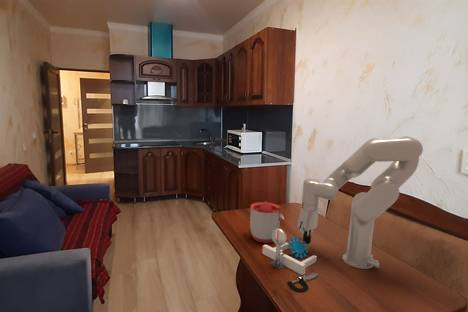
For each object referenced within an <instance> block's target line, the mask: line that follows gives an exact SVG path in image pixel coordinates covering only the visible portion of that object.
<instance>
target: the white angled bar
mask: <svg viewBox="0 0 468 312" xmlns="http://www.w3.org/2000/svg"><path fill="white" fill-rule="evenodd" d="M289 246H290V244H289V242H287V241H286V243H285V244H284V245H282V246H281V250H282V249H285V251H286V250H288V249H289ZM262 254H263V255H264V256H266V257H268V258H269V259H271V260H272V261H274V260H275V255H276V246H274V247H272V246H270V245H268V244H264V245H262ZM280 263H282V264H283V265H284V267H286V268H287V269H290V270H291V271H293V272H294V273H295V272H296V273H297V274H299V275H300V276H304V275H306V269H307V268H308V267H309V266H311V265H313V264H314V263H317V256H316V255H312V256H309V257H307V258H305V259H303V260H302V261H299V260H298V259H297V258H295V257H292V256H289V255H287V253H283V252H281V253H280Z"/></svg>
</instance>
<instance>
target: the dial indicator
mask: <svg viewBox="0 0 468 312" xmlns="http://www.w3.org/2000/svg"><path fill="white" fill-rule="evenodd" d="M272 240H273V243H274V244H275V247H276V255H275V260H272V261H271V262H270V263H269V265H270V266H273V267H274V268H276V269H278V270H282V269H284V268H285V266H284V265H283V264H282V263H280V253H281V252H282V253H283V252H285V251H286V250H285V249H282V250H281V246H282V245H284V244H285V243H286V242H287V241H288V237H287V233H286V232H285V230H283V228H280V227H279V228H277V229H275V230H273V231H272Z"/></svg>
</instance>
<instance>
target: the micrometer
mask: <svg viewBox="0 0 468 312" xmlns="http://www.w3.org/2000/svg"><path fill="white" fill-rule="evenodd" d="M316 277H319V274H318V272H315V273H314V272H311V273H308V274H303V275H299V276H298V277H295V278H296V279H294V280H290V281H287V282H286V283H287V284H286V285H288V287H289V288H290V290H292V291H293V292H296V293H301V294H302V293H306V292H307V291H308V290H309V285H308V283H306V281H310V280H314V279H316ZM295 283H299V284H301V286H302V287H301V288H299V287H297V286H295Z"/></svg>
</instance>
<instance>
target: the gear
mask: <svg viewBox="0 0 468 312" xmlns="http://www.w3.org/2000/svg"><path fill="white" fill-rule="evenodd" d="M301 241H302V242H301ZM288 243H289V246H288V249H289V250H290V253H291V255H294V258H295V259H297V258H299V259H303V258H306V257H307V254H308V253H309V250H308V249H309V248H310V245H309V244H306V243H305V241H303V238H301V237H299V238H298V237H297V236H294V237H291V238H290V241H288ZM305 244H306V245H305ZM295 253H296V254H295Z"/></svg>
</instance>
